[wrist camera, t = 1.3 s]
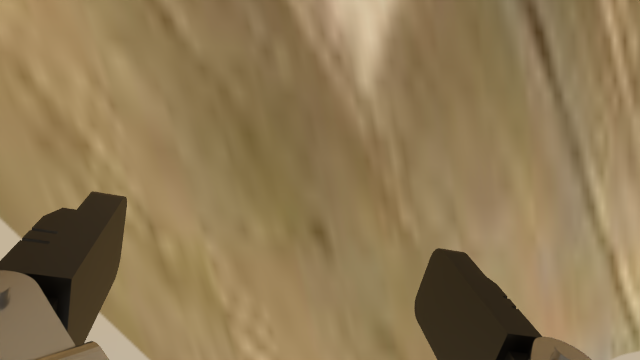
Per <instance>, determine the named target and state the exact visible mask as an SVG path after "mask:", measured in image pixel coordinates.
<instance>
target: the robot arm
mask: <svg viewBox="0 0 640 360" xmlns="http://www.w3.org/2000/svg"><path fill="white" fill-rule="evenodd" d="M126 208H127V199H126V197H124V196H117V195H111V194H105V193H99V192H91V193H90V194H89V196H88V197H87V198H86V199H85V200H84V202H83V203H82V204H81V205H80V206H79V208H78V209H77V210H74V209H67V208H61V209H59V210H57V211H54V212H52V213H50V214H47V215H45V216H43V217H42V218H41V219H40V220H39V221H38V222H37V223H36V224H35V225H34V226H33V227H32V230H30V231H29V232H28V233H27V234H26V235H25V236H24V237H23V238H22V241H21V240H20V241H19V242H18V243H17V244H16V245H15V246H14V247H13V248H12V249H11V250H10V251H9V252H8V254H7V255H6V256H5V257H4V258H3V259H2V260H1V261H0V360H109V359H108V357H107V356H106V355H105V353H104V351H103V350H102V349H101V347H100V346H99V345H98V344H97V343H95V342H93V341H91V342H87V343H84V342H85V340H86V338H87V336H88V333H89V332H90V330H91V328H92V325H93V323H94V321H95V319H96V317H97V315H98V313H99V311H100V309H101V307H102V305H103V303H104V301H105V299H106V297H107V295H108V293H109V290H110V288H111V286H112V284H113V282H114V280H115V277H116V274H117V271H118V267H119V262H120V257H121V249H122V241H123V233H124V225H125V216H126ZM415 316H416V319H417V321H418V323H419V325H420V327H421V329H422V331H423V333H424V335H425V337H426V339H427V341H428V342H429V344H430V346H431V348H432V350H433V352H434V354H435V356H436V358H437V360H591V359H590V358H589V357H588V356H587V355H585V354H584V353H583V352H581V351H580V350H578V349H577V348H575V347H573V346H571V345H569V344H567V343H565V342H563V341H560V340H557V339H554V338H550V337H542V336H541V335H540V333H539V332H538V331H537V330H536V329H535V328H534V327H533V325H532V324H531V323H530V322H529V321H528V320H527V319H526V317H525V316H524V315H523V314H522V313H521V312H520V311H519V309H516V306H515V305H514V304H513V302H512V301H511V300H510V299H507V296H506V294H505V293H504V292H503V291H502V290H501V289H500V288H499V286H498V285H497V284H496V283H494V282H493V281H492V280H490V279H489V278H487V277H486V276H485V275H484V274H483V273H482V271H481V270H480V269H479V268H478V267H477V266H476V264H475V263H474V262H473V261H472V260H471V259H470V257H469V256H468V255H467V254H466V253H464V252H459V251H452V250H446V249H440V248H438V249H436V250H435V251H434V252H433V253H432V255H431V258H430V260H429V263H428V266H427V268H426V271H425V274H424V277H423V279H422V282H421V285H420V287H419V290H418V293H417V296H416V299H415Z"/></svg>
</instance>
